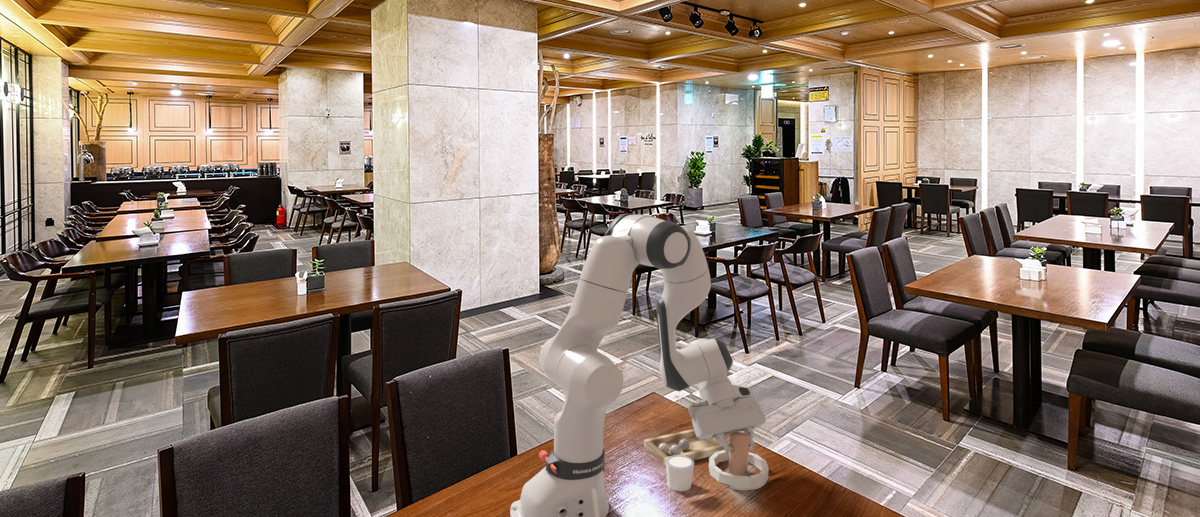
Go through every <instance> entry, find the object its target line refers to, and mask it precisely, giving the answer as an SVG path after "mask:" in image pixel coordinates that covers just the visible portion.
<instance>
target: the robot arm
mask: <svg viewBox="0 0 1200 517" xmlns="http://www.w3.org/2000/svg"><path fill="white" fill-rule="evenodd" d="M639 265H642V266H647V267H654V268H656V269H659V270H661V275H662V278H663V284H664V285H663V289H662V290H663V291H662V294H661V296H660V297H659V298H658V299H657V302H656V307H655V308H656V309H655V311H656V325H657V326H656V327H657V328H656V329H657V336H658V349H659V374H660V377H661V380H662V382H663V384H664V385H665V387H666V388H668V389H670V390H672V391H676V392H679V393H680V392H681V391H683V390H687V389H689V388H691V387H692V386H694V385H698V392H699V395H700V398H701V400H702V401H699V402H694V403H693V402H692V403H691V405H690V406H689V407H688V409H687V410H688V415H689V416H690V418H691V423H692V426H693V429H694V431H695V434H696V437H697V438H698V439H700V440H705V439H709V438H714V437H715V438H716V441H717V442H718V443H719V444H720V445H721V446H722V447H724V450H725V452H726V453H729V452H732V451H733V447H732V444H730V443H729V442H728V441H727V440H726V439H725V438H726V437H725V436H726V435H730V434H731V433H734V432H743V433H745V434H747V435H749V437H750V440H749V449H750V448H753V447H755V446H756V444H755V441H754V431H755V430H754V429H757V428H758V429H759V428H761V427H762V426H763V425H765V423H766V421H767V419H766V415H765V412H764V410H763V409H762V407H761V404H760V403H759V401H758V400H757V398H755V397H753V395H754V392H753V389H752V388H751V387H747V386H746V387H745V386H739V385H736V384H733V383H732V381H731V380H730V379H729V377H728V375H727V373H729V371H730V370H731V367H732V366H733V364H734V360H733V357H732V355H731V353H730V351H729V349H728V347H727V344H726V342H724V341H723V340H721V339H718V338H709V339H708V338H706V337H705V338H698V339H694V340H693V341H692V342H690V343H689V344H688V345H687V346H686V347H683V348H680V349H677V340H676V338H677V337H676V329H677V326H678V324H679V323H680V321H681V320H683V319H684V317H686V316H687V315H688V314H689V313H691V311H693V310H694V309H696V308H698V307H699V306H700V305H701V304H702V303H703V302H704V301H705V299H706V298H708V295H709V293H710V291H711V287H712V282H711V274H710V269H709V264H708V261H707V258H706V255H705V252H704V250H703V247H702V245H701V242H700V240H699V238H698V237H697V235H696V233H695V232H694V231H693V230H692V229H690V228H687V227H682V226H681V225H679V224H677V223H675V222H674V221H671V220H665V219H661V218H659V217H656V216H653V215H648V214H638V213H633V212H632V213H630V212H628V213H623V214H622V213H621V215H618V216H616V217H615V218H614V219H613V220H612V222H610V224H609V225H608V228H607V230H606V232H605V233H604V236H600V237H599V238H597V239H596V240H595V242H594V243H593V245H592V247H591V249H590V251H589V253H588V255H587V256H586V260H585V261H584V265H583V267H582V270H581V272H580V276H579V279H578V283H577V286H576V288H575V292H574V296H573V299H572V302H571V305H570V308H569V311H568V313H567V315H566V317H565V319H564V321H563V323H562V324H561V327H559V330H558V331H557V332H556V334H555V335H554V336H552V337H551V338H549V339H547V340H546V341H545V342H544V344H543V345H542V347H541V349H540V352H539V353H538V354H539V356H538V361H539V364H540V367H541V369H542V371H543V372H544V374H545V375H546V377H547V378H548V379H549V380H550V381H552V382H553V383H554V384H555V385H557V386H558V387H559V388H561V389H562V391H563V395H564V403H563V407H562V408H561V409H562V410H560V411H559V412H558V413H557V414H556V415H555V417H554V421H553V448H552V451H551V453H550V454H549V453H548V451H546V450H544V449H543V450H541V451H539V453H538V458H539V459H540V460H541V462H543V463H545V466H544V467H543V468H542V469H541V470H540V471H539V472H537V473H536V474H535V475H534V476H533V477H532V478H530V479H529V480H528V481H527V482H525V484H523V486H522V489H521V494H520V498H519V499H518V500H516V501H514V502H512V503H511V505H510V510H509V516H510V517H607V515H608V513H609V511H610V505H609V502H608V498H607V494H606V489H605V481H604V472H605V464H606V458H605V448H604V423H605V417H606V414H607V410H608V408H609V406H611V405H613V403H615V402H616V401H617V400H618V398H620V395H621V393H622V392H623V388H624V375H623V373H622V372H621V370H620V368H619V367H618V366H617V365H616V364H615V363H614V362H613V361H612V359H611V358H609V357H608V356H607V355H605V354H603V353H601V352H599V351H598V348H599V346H600V344H601V342H602V341H603V339H604V337H605V336H606V335H607V333H610V332H611V331H613V330H615V329H616V328H617V326H618V325H619V323H620V320H621V318H622V313H623V309H624V307H625V303H626V299H627V295H628V292H629V289H630V285H631V281H632V276H633V273H634V271H635V269H636V268H637V267H638V266H639Z"/></svg>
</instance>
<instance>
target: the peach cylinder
mask: <svg viewBox="0 0 1200 517" xmlns="http://www.w3.org/2000/svg"><path fill="white" fill-rule="evenodd" d="M749 440H750V437H749V435H747V434H745V433H744V432H743V431H741V432H734V433H731V434H729V444H732V447H733V451H732V452H729V460H728V465H727V466H728V468H727V470H728V471H727V473H729V474H732V475H737V476H748V473H749V472H748V471H749V463H748V456H749V452H750V448H749Z"/></svg>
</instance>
